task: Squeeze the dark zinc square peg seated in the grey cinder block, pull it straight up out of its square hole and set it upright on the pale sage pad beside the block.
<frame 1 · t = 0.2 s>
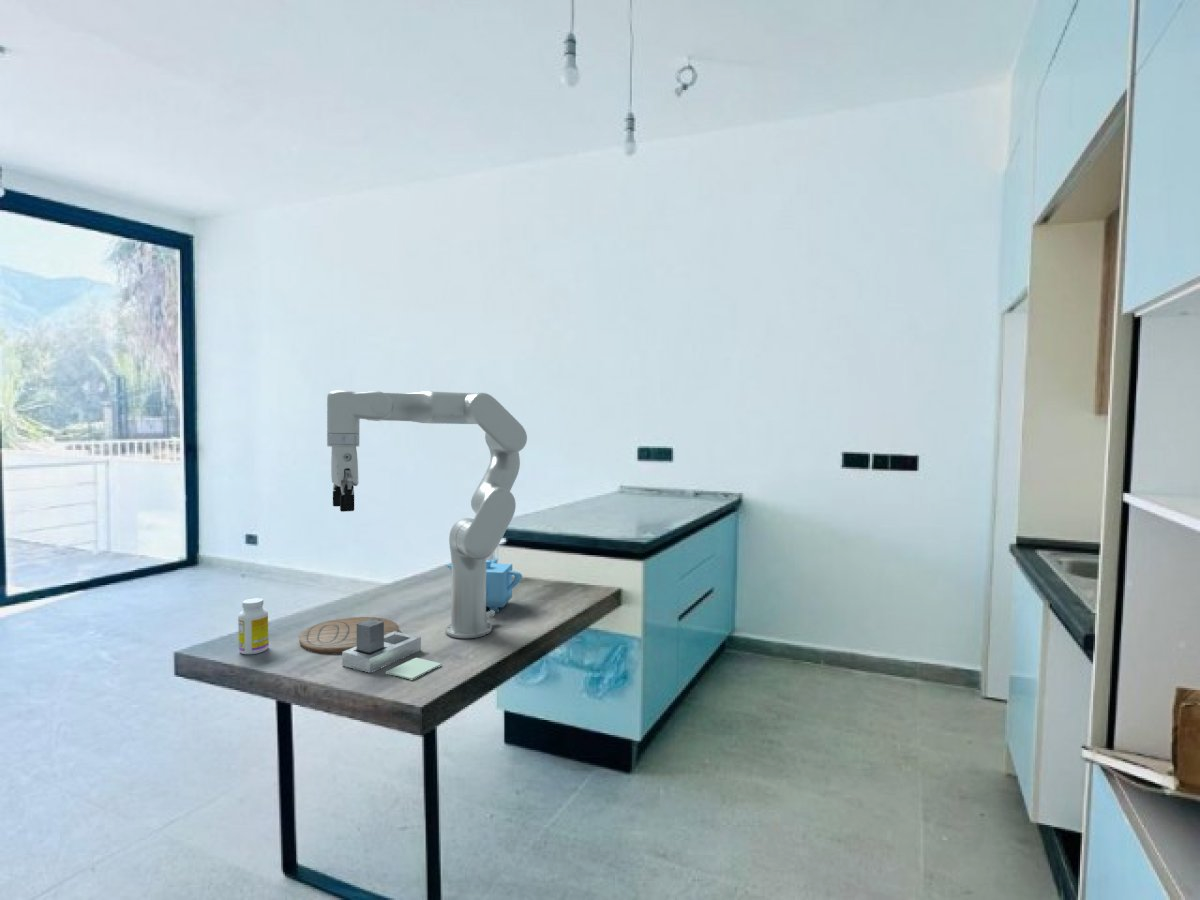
hand: (343, 508, 163), 36 cm above the table, tool pointing down, fingers open, 9 cm apart
grey cinder block: (382, 658, 161), on the table
supplement bottle: (253, 651, 164), on the table
trivet: (350, 638, 175), on the table
zinc peg: (370, 663, 157), resting in grey cinder block
teakettle: (482, 607, 205), on the table
sage pad: (414, 670, 153), on the table
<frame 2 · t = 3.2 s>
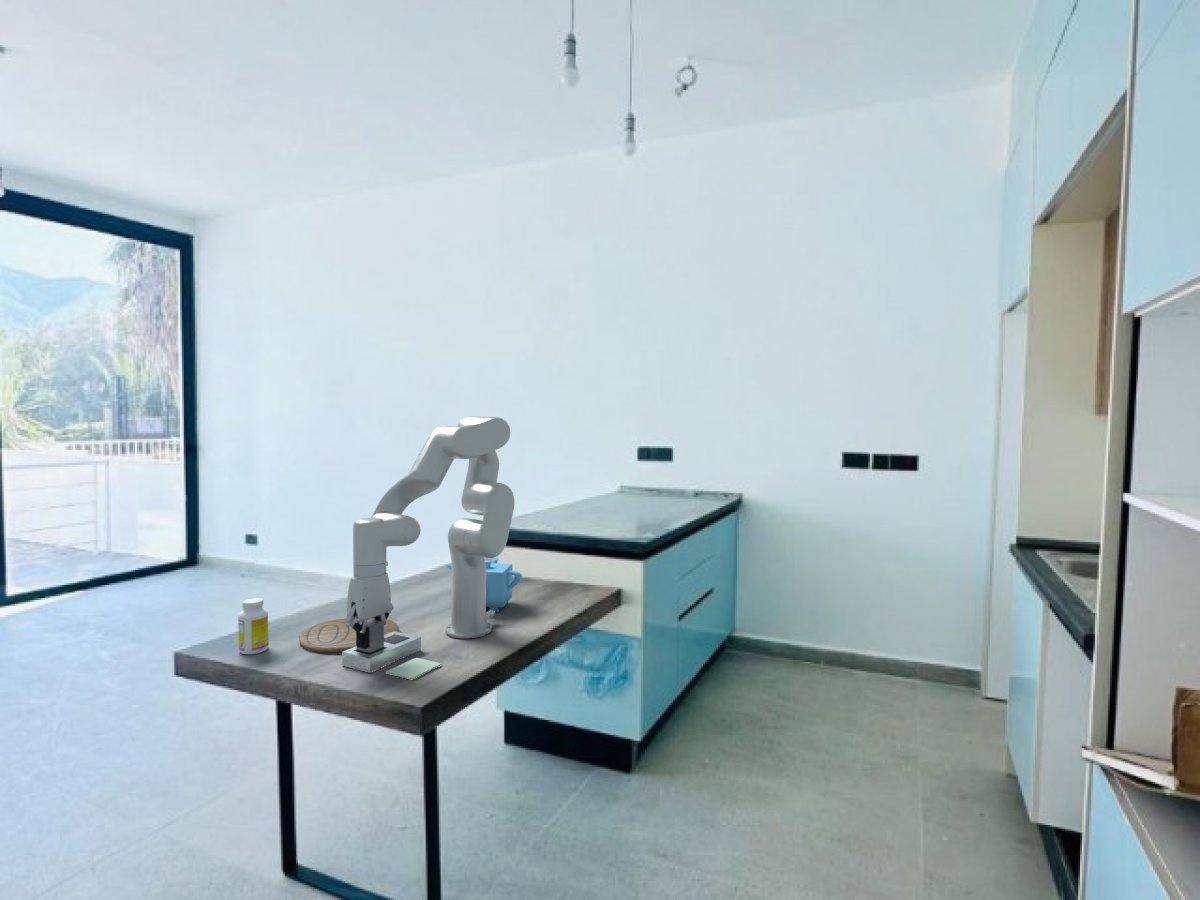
hand: (370, 643, 157), 5 cm above the table, tool pointing down, fingers closed on zinc peg, 4 cm apart
zinc peg: (370, 663, 157), resting in grey cinder block, touching gripper
everything else where it was.
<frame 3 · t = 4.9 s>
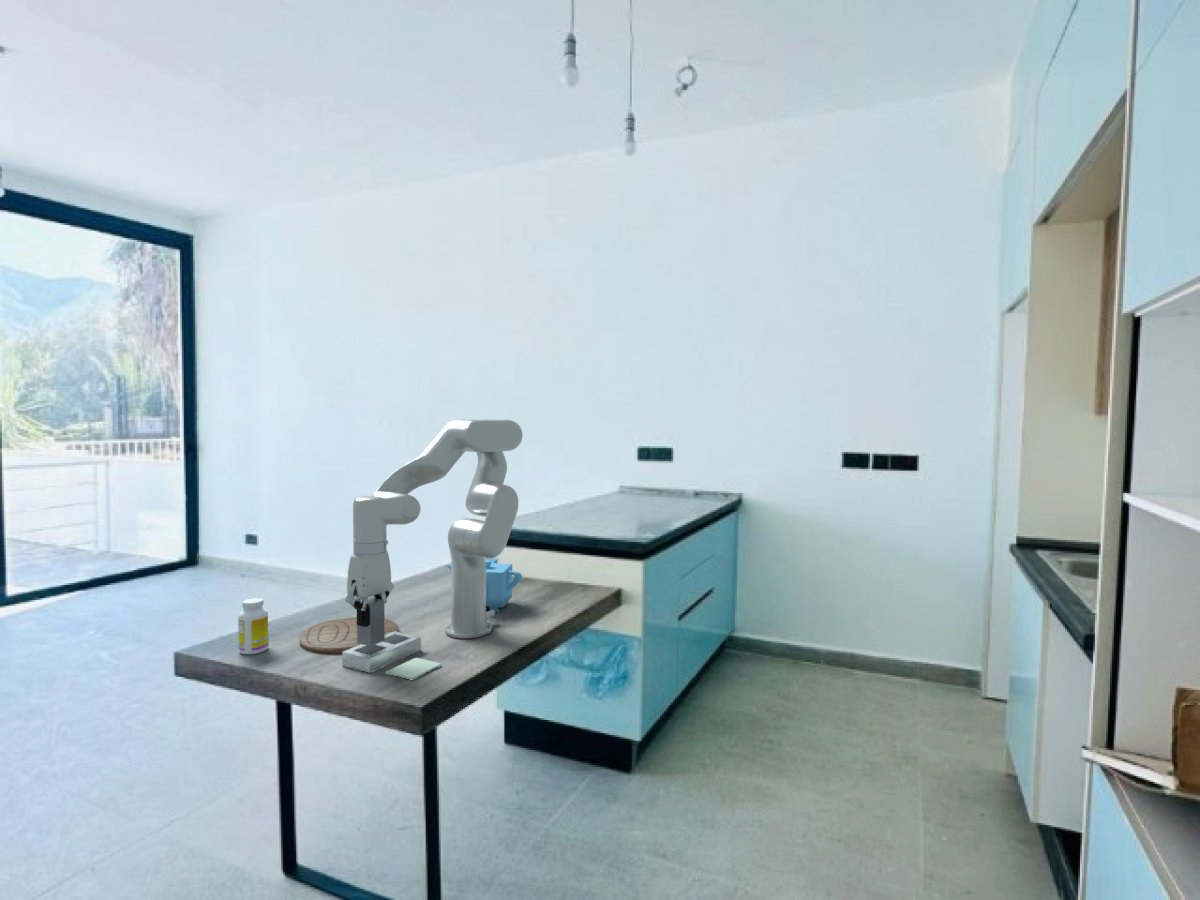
hand: (370, 622, 157), 10 cm above the table, tool pointing down, fingers closed on zinc peg, 4 cm apart
zinc peg: (371, 641, 157), point 5 cm above the table, touching gripper
everything else where it was.
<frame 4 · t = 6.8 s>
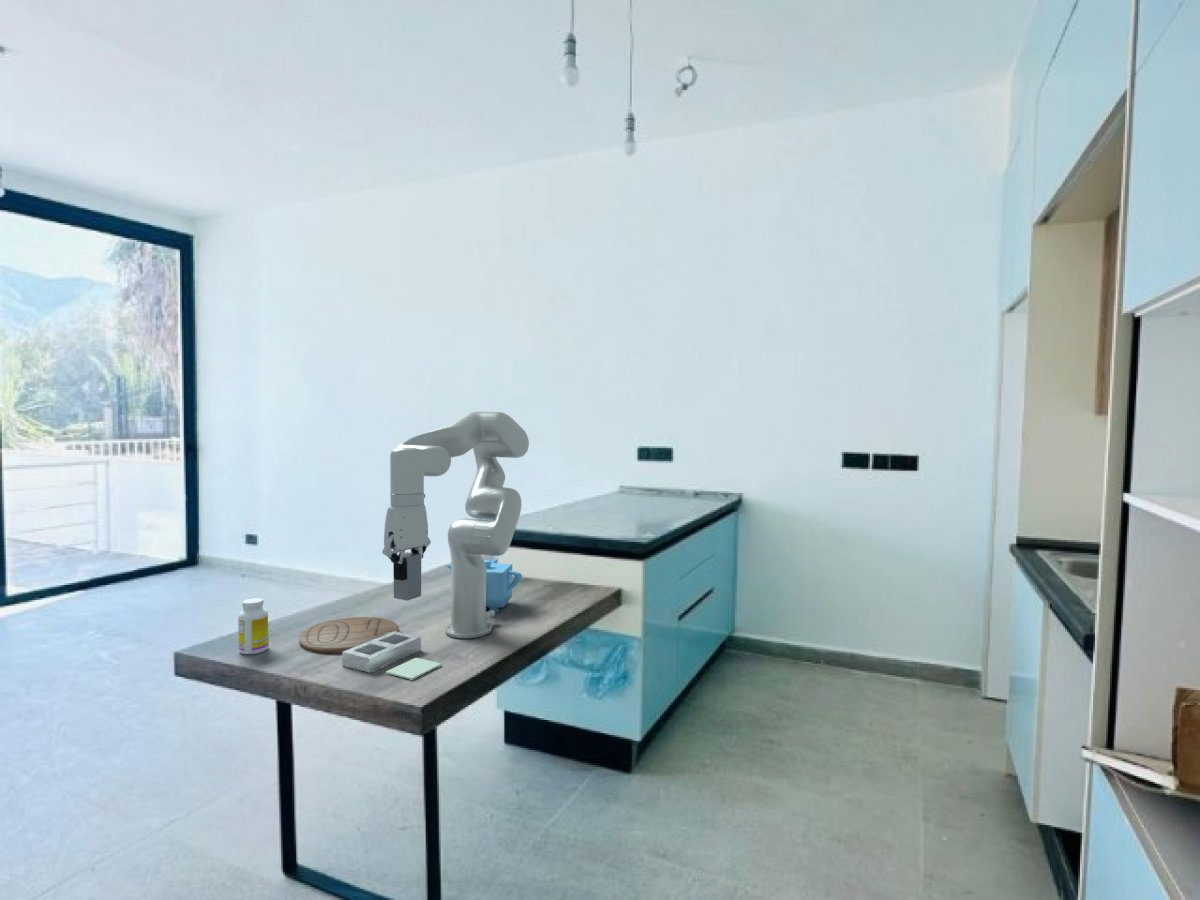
hand: (407, 576, 153), 22 cm above the table, tool pointing down, fingers closed on zinc peg, 4 cm apart
zinc peg: (407, 596, 153), point 17 cm above the table, touching gripper
everything else where it was.
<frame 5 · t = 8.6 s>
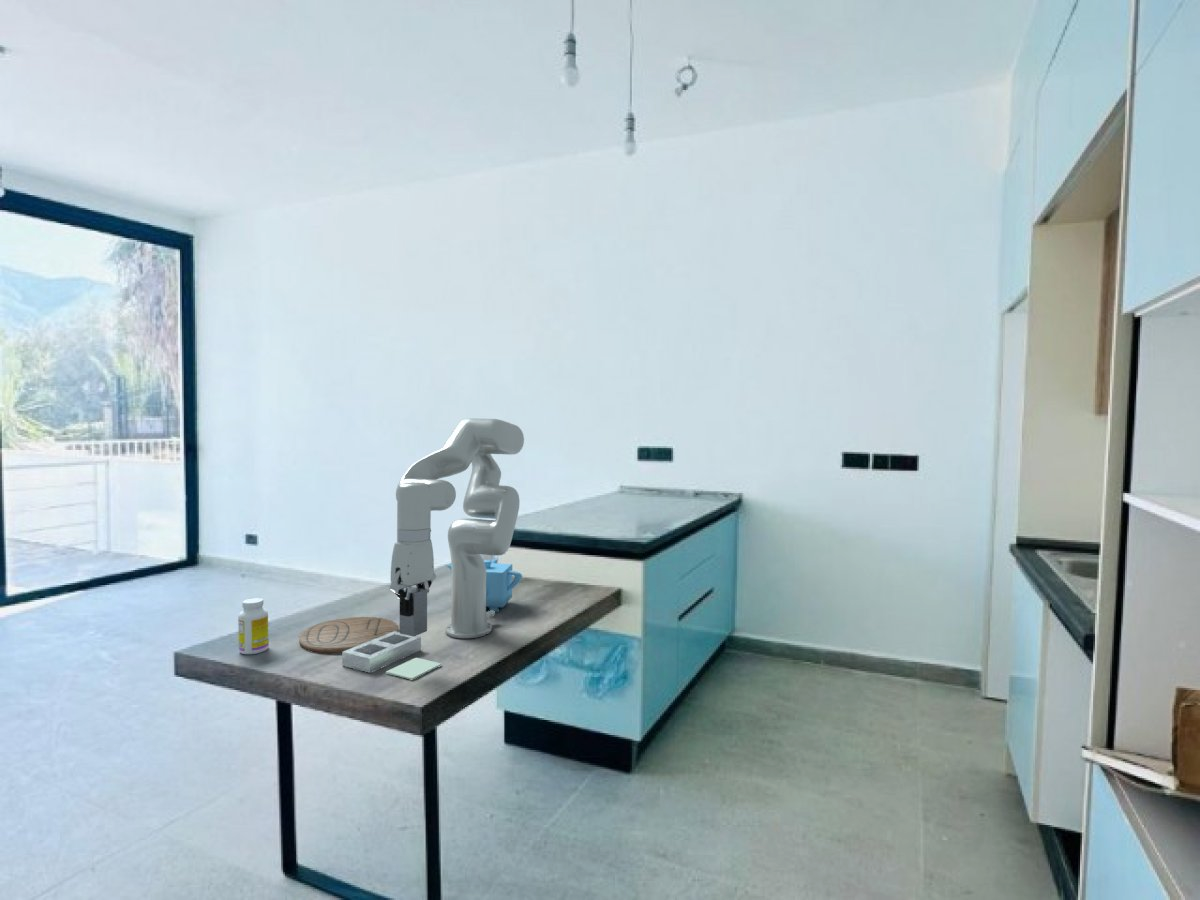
hand: (413, 611, 152), 14 cm above the table, tool pointing down, fingers closed on zinc peg, 4 cm apart
zinc peg: (413, 632, 153), point 9 cm above the table, touching gripper
everything else where it was.
when the fingers open (7 cm above the table, at t = 10.2 s): zinc peg drops 2 cm, resting on sage pad.
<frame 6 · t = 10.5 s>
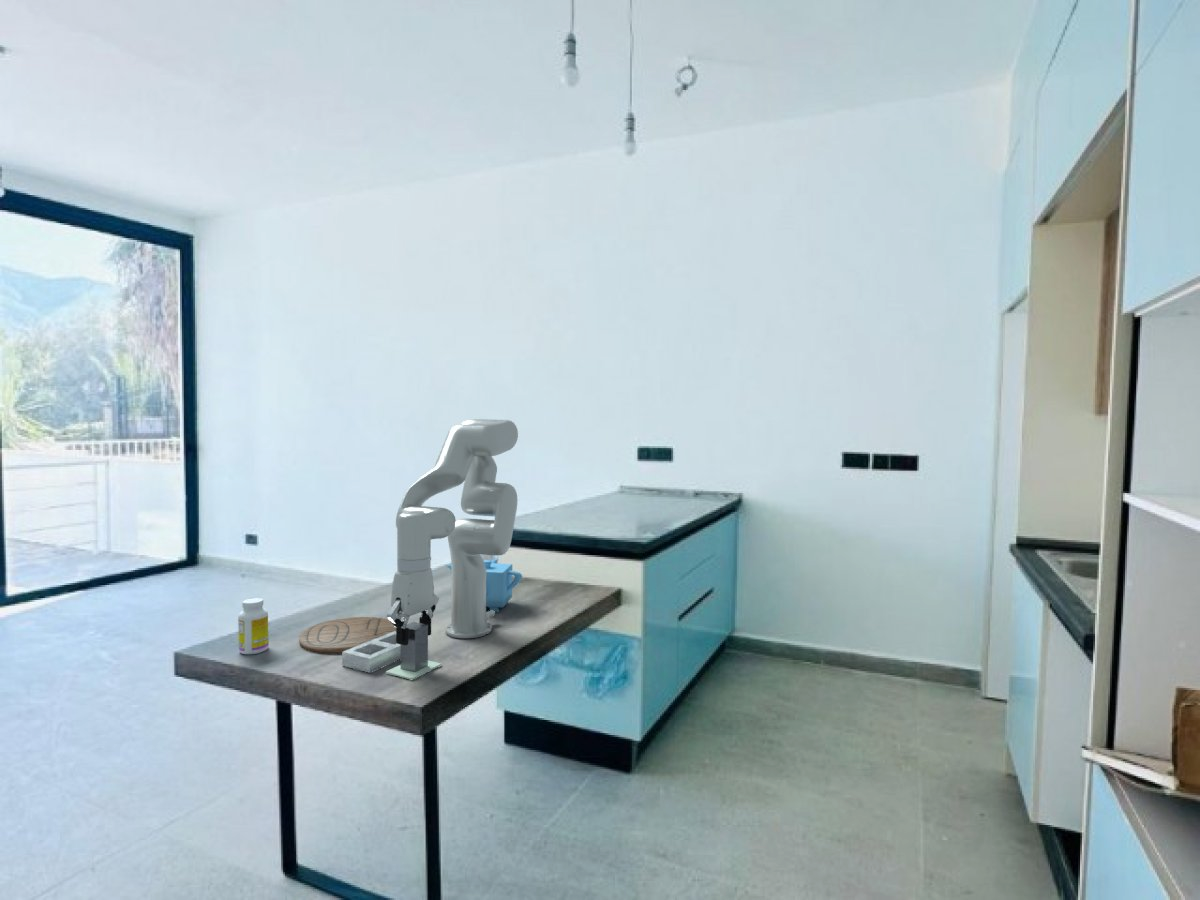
hand: (414, 638, 153), 8 cm above the table, tool pointing down, fingers open, 7 cm apart
zinc peg: (414, 667, 153), point 1 cm above the table, touching sage pad
everything else where it was.
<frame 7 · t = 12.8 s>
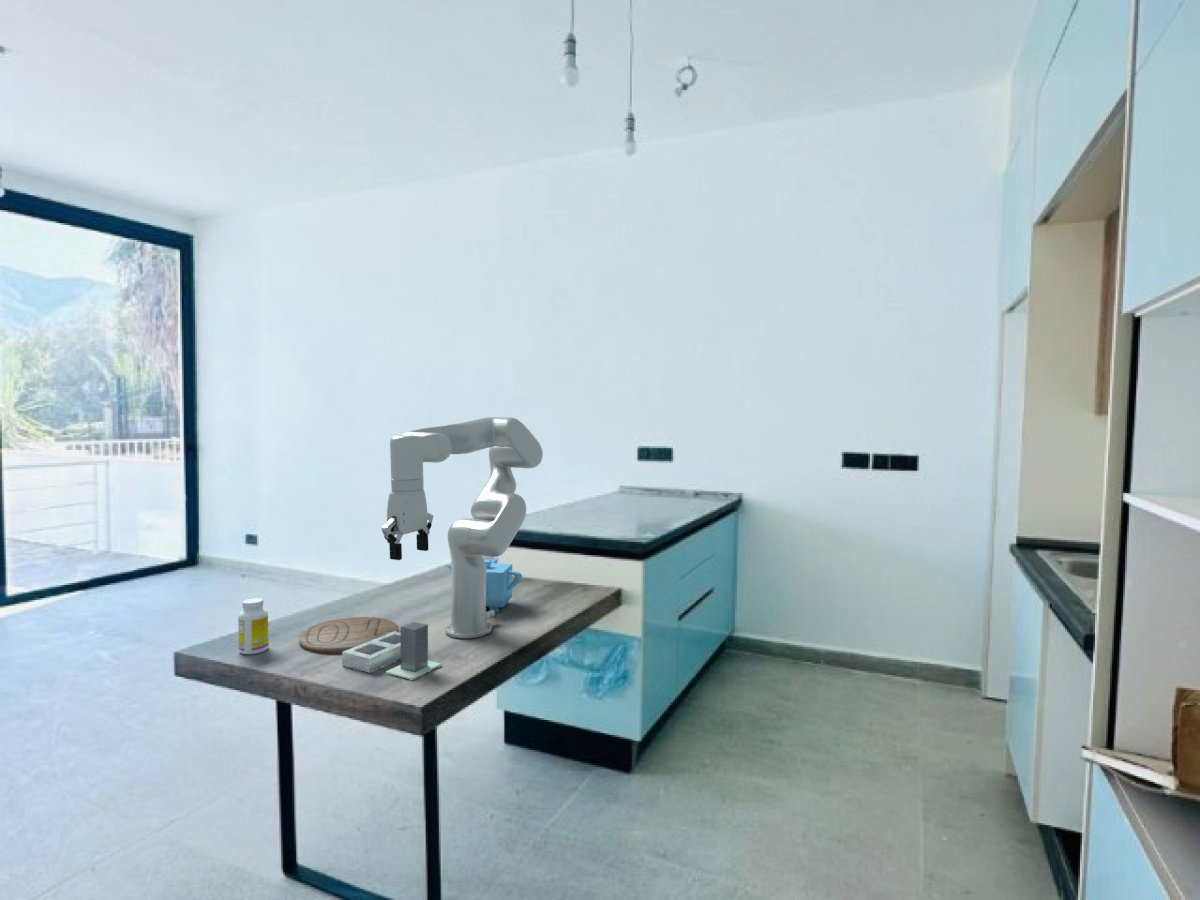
hand: (409, 554, 159), 26 cm above the table, tool pointing down, fingers open, 9 cm apart
nothing on the table moved.
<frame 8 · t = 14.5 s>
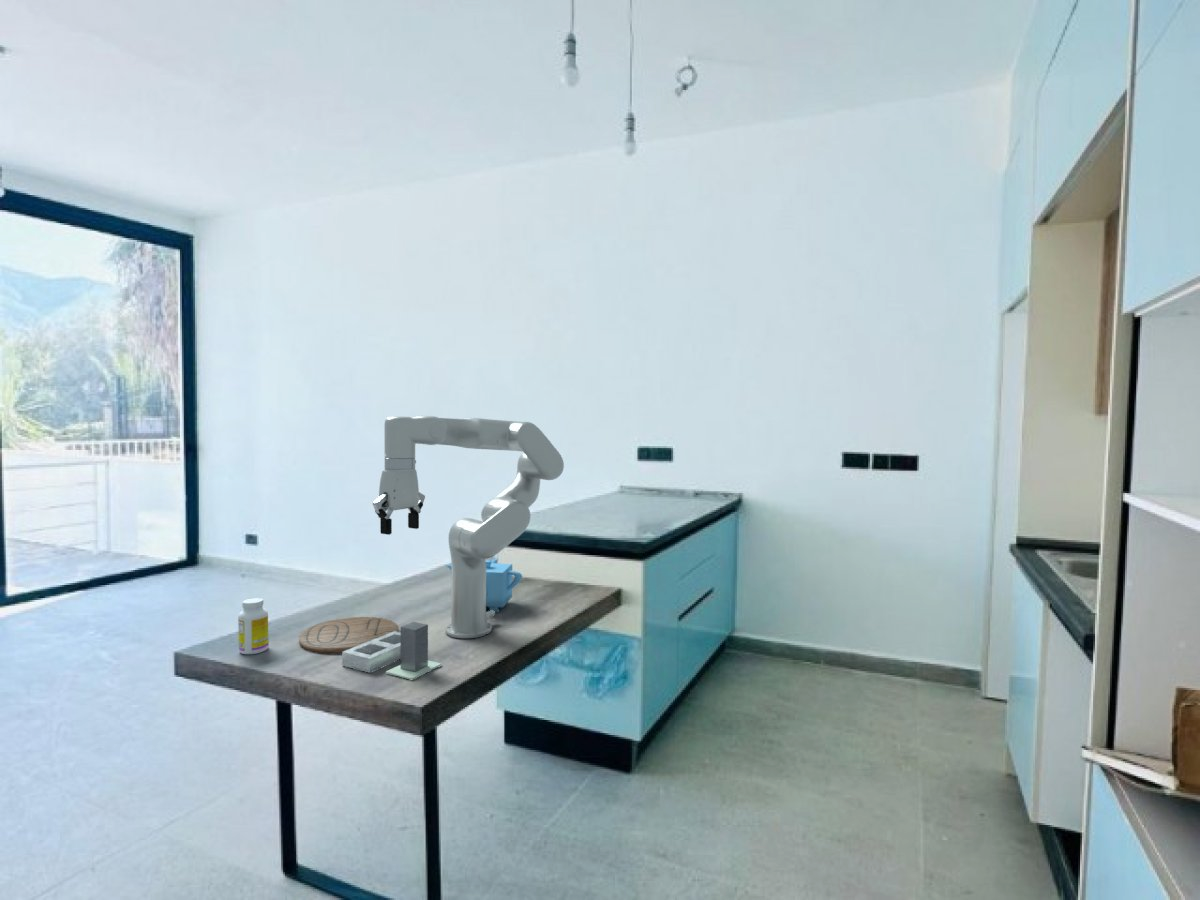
hand: (400, 531, 167), 30 cm above the table, tool pointing down, fingers open, 9 cm apart
nothing on the table moved.
at the end: zinc peg 0.1 cm off-centre on the sage pad, point 0.6 cm above the sage pad's base; zinc peg tilted 0°; the gripper is holding nothing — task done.
